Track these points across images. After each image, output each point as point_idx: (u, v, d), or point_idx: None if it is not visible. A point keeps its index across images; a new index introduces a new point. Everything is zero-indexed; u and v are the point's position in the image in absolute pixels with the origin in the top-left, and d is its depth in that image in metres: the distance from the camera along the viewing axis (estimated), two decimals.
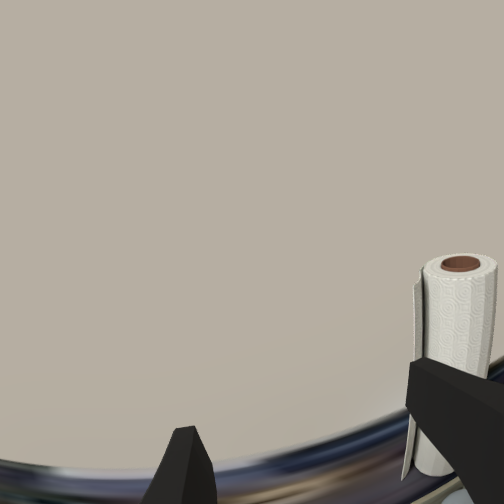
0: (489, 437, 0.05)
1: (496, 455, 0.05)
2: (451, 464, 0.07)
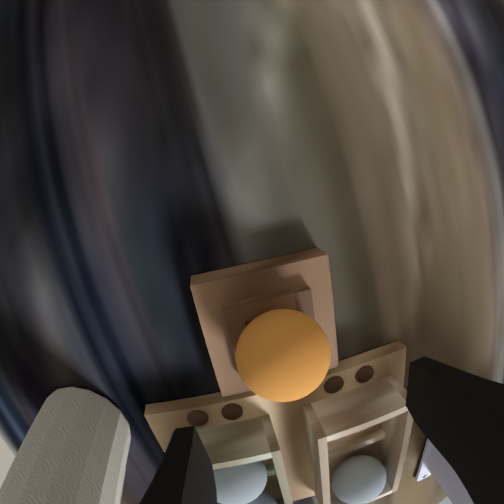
0: (489, 437, 0.05)
1: (496, 455, 0.05)
2: (451, 464, 0.07)
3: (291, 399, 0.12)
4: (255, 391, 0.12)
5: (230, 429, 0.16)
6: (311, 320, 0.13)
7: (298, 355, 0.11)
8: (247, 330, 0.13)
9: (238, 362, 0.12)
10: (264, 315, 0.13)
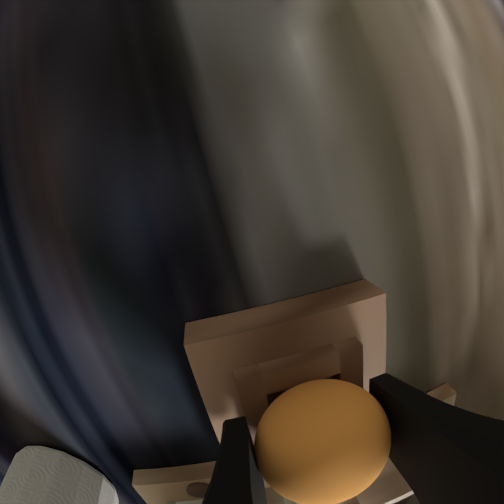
0: (444, 466, 0.05)
1: (451, 486, 0.05)
2: (411, 487, 0.07)
3: (335, 503, 0.07)
4: None
5: None
6: (369, 399, 0.08)
7: (355, 461, 0.06)
8: (274, 419, 0.08)
9: (260, 461, 0.07)
10: (300, 395, 0.08)
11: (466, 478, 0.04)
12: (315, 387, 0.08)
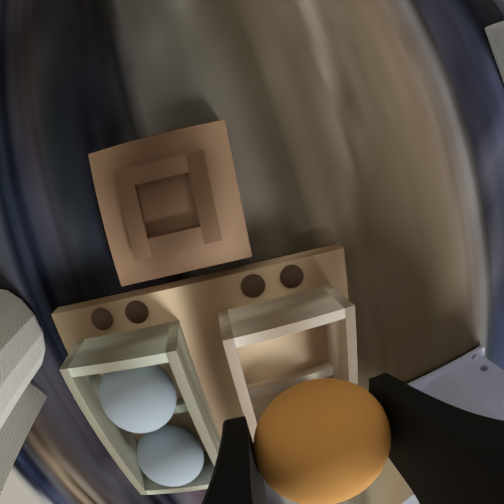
0: (444, 467, 0.05)
1: (451, 486, 0.05)
2: (411, 486, 0.07)
3: (335, 502, 0.07)
4: None
5: (134, 334, 0.15)
6: (369, 398, 0.08)
7: (355, 461, 0.06)
8: (273, 419, 0.07)
9: (259, 461, 0.07)
10: (298, 395, 0.08)
11: (466, 478, 0.04)
12: (314, 386, 0.08)
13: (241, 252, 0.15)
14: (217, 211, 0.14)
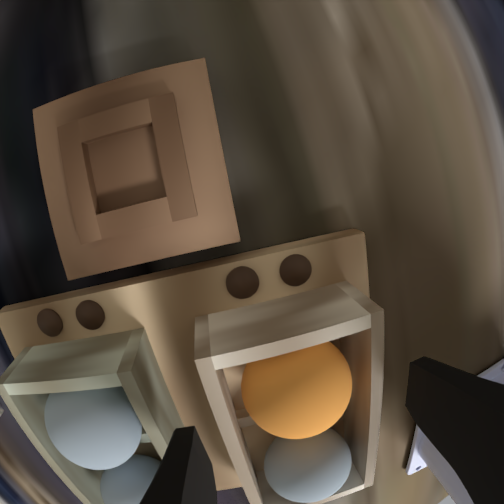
0: (489, 437, 0.05)
1: (496, 455, 0.05)
2: (451, 464, 0.07)
3: (307, 437, 0.10)
4: (265, 429, 0.10)
5: (87, 343, 0.11)
6: (330, 346, 0.10)
7: (318, 391, 0.09)
8: None
9: (245, 397, 0.10)
10: None
11: None
12: None
13: (225, 235, 0.11)
14: (192, 177, 0.10)
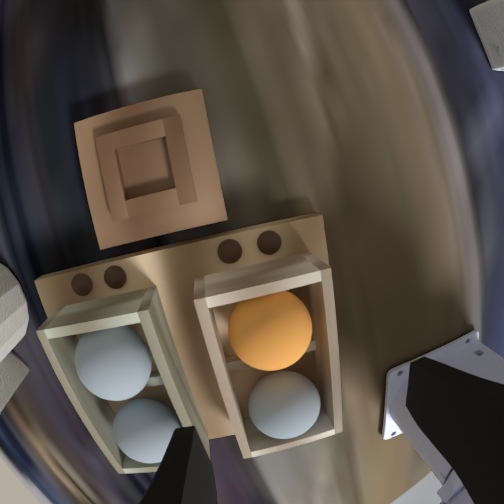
0: (489, 437, 0.05)
1: (496, 455, 0.05)
2: (451, 464, 0.07)
3: (278, 367, 0.14)
4: (245, 360, 0.14)
5: (112, 299, 0.15)
6: (294, 296, 0.15)
7: (282, 325, 0.13)
8: (238, 305, 0.15)
9: (230, 334, 0.14)
10: None
11: None
12: None
13: (217, 215, 0.15)
14: (193, 174, 0.14)
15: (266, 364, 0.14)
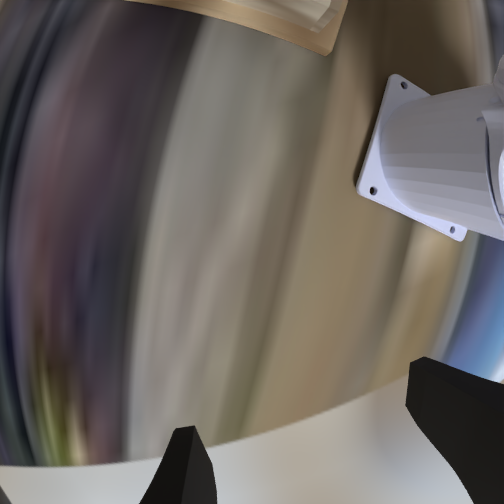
0: (489, 437, 0.05)
1: (496, 455, 0.05)
2: (451, 464, 0.07)
3: None
4: None
5: None
6: None
7: None
8: None
9: None
10: None
11: None
12: None
13: None
14: None
15: None
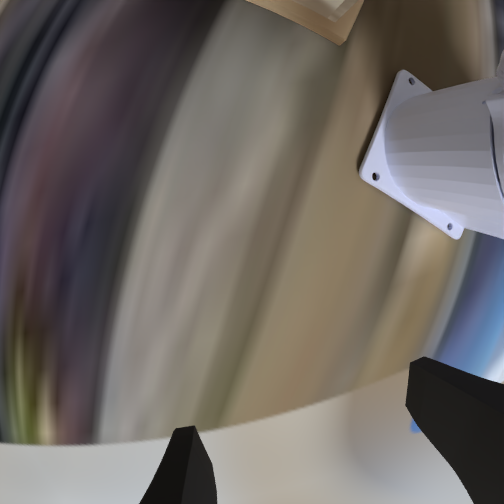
0: (489, 437, 0.05)
1: (496, 455, 0.05)
2: (451, 464, 0.07)
3: None
4: None
5: None
6: None
7: None
8: None
9: None
10: None
11: None
12: None
13: None
14: None
15: None
